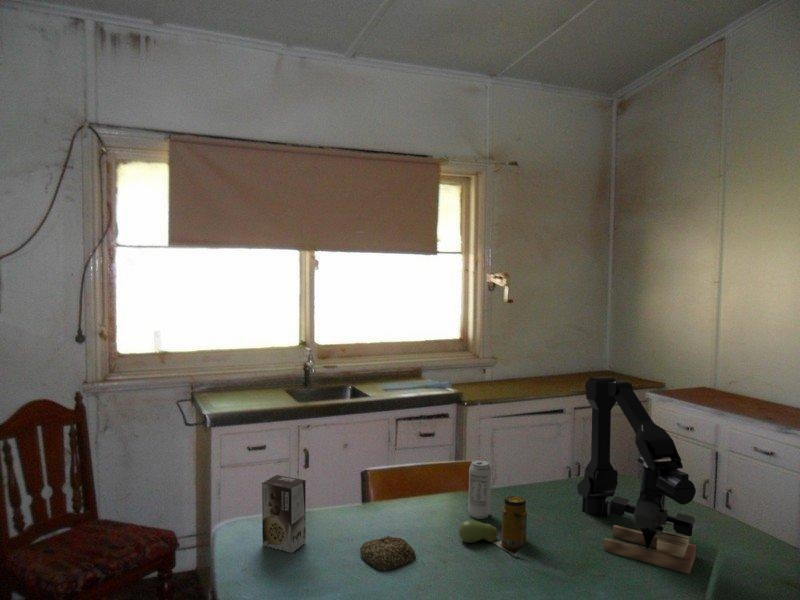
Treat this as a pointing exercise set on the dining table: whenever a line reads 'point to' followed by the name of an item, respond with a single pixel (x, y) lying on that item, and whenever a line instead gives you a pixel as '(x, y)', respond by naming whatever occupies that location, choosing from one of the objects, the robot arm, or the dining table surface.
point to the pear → (477, 531)
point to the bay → (648, 550)
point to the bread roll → (387, 552)
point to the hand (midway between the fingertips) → (647, 549)
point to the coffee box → (284, 513)
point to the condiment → (513, 524)
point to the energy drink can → (479, 489)
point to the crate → (672, 544)
